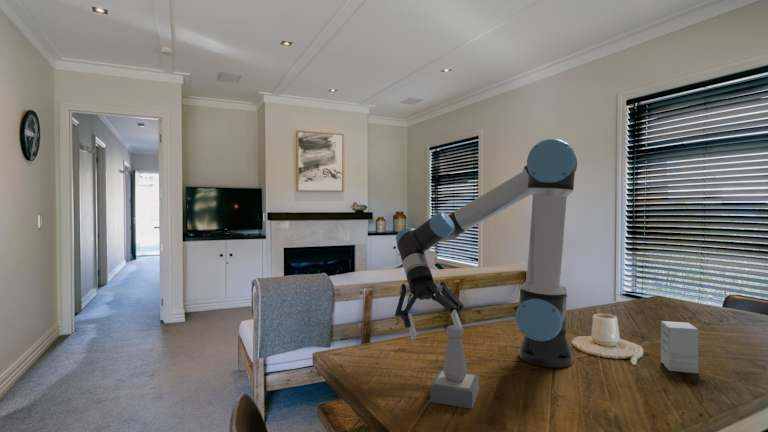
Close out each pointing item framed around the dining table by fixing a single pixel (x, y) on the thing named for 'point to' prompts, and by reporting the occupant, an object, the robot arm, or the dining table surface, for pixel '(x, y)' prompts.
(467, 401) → the slate plinth
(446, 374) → the salt shaker
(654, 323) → the dining table surface
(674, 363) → the supplement box
